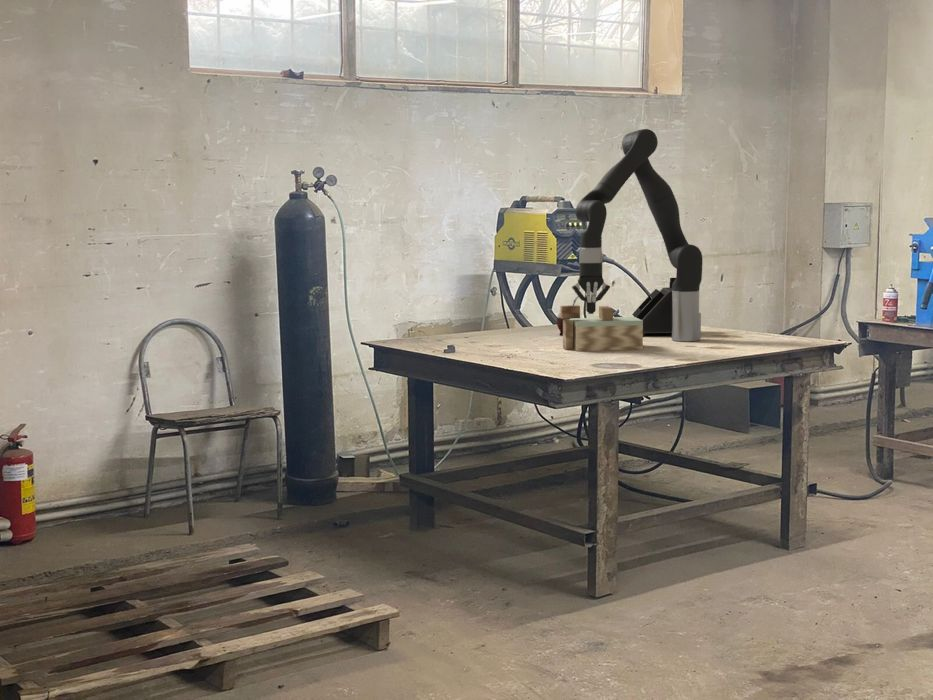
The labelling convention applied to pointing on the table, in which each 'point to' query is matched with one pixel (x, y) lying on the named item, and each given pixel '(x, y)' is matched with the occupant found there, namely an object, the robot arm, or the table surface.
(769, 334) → the table surface
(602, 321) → the lid
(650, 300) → the voltmeter
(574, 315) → the wooden block
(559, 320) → the mate gourd
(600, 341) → the toolbox
